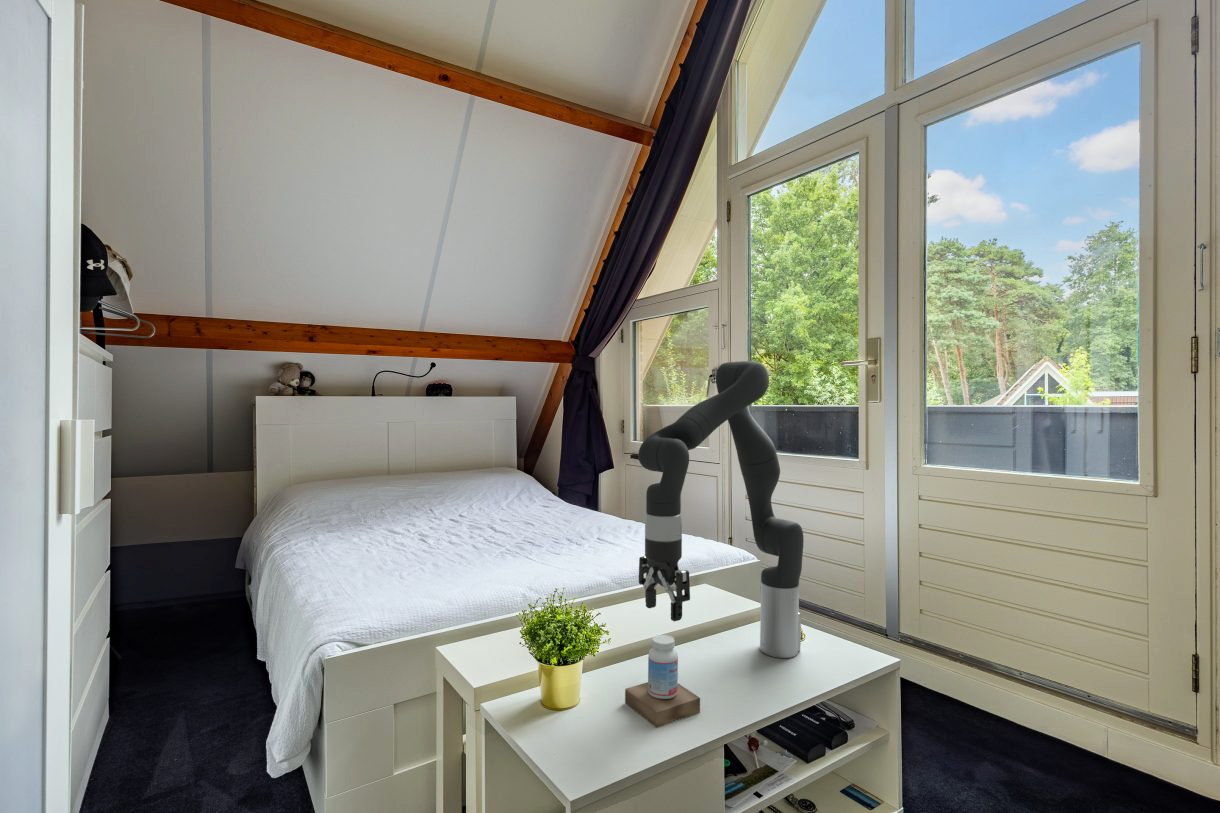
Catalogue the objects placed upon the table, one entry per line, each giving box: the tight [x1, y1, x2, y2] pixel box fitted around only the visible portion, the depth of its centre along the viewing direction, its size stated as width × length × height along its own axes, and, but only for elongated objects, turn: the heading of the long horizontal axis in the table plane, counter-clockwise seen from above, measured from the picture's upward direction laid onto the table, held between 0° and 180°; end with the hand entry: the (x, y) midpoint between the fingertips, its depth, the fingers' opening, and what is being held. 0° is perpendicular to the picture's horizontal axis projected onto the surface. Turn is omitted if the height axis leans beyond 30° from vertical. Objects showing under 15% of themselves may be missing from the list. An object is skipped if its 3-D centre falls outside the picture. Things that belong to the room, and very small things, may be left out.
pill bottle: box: [647, 634, 679, 699], centre depth 127 cm, size 6×6×11 cm
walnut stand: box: [624, 681, 701, 728], centre depth 127 cm, size 11×11×3 cm
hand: (663, 613), depth 126 cm, fingers open, 8 cm apart
